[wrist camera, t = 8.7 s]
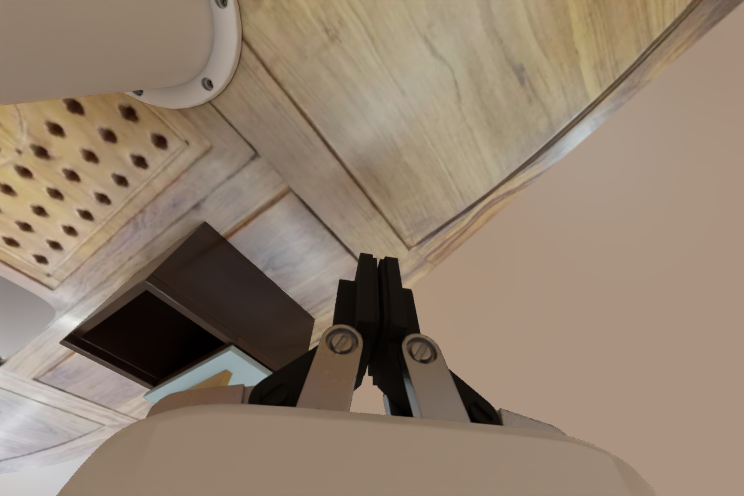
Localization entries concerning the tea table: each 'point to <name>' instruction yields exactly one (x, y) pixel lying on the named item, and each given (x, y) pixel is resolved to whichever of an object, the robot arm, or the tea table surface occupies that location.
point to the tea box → (192, 314)
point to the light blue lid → (213, 374)
